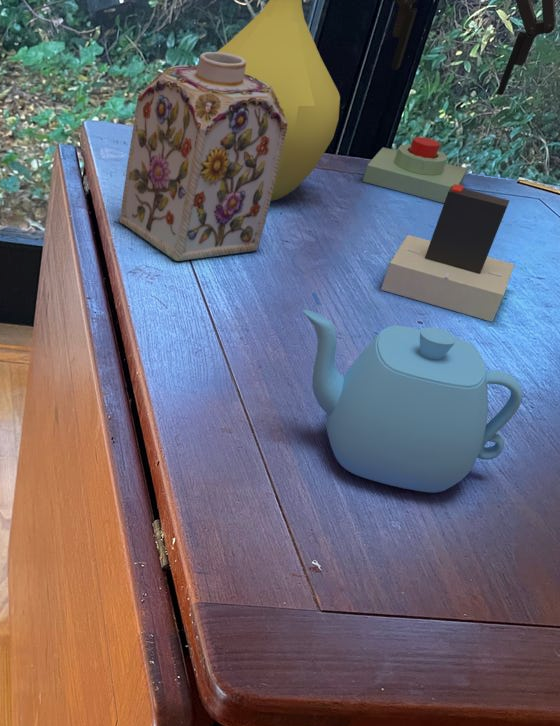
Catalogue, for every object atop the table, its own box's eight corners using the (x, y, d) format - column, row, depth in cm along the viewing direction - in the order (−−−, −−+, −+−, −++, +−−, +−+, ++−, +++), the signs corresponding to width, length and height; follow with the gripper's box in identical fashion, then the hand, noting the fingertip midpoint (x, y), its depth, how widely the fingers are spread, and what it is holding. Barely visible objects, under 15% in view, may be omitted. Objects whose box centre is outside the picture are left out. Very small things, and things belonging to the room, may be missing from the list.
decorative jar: (260, 253, 110) (305, 72, 98) (176, 264, 105) (212, 75, 93) (197, 212, 117) (231, 39, 105) (115, 221, 112) (141, 40, 100)
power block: (461, 185, 138) (472, 154, 135) (450, 205, 131) (461, 173, 128) (377, 163, 141) (386, 133, 138) (362, 181, 134) (371, 150, 131)
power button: (437, 155, 134) (442, 141, 133) (433, 161, 131) (437, 147, 130) (411, 148, 135) (415, 134, 134) (406, 155, 132) (410, 141, 131)
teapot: (311, 273, 80) (538, 322, 78) (277, 392, 87) (484, 440, 85) (297, 338, 70) (555, 396, 69) (261, 466, 78) (493, 521, 76)
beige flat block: (503, 290, 111) (515, 262, 109) (492, 322, 104) (504, 293, 102) (398, 260, 114) (408, 232, 112) (380, 290, 107) (390, 261, 105)
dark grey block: (482, 267, 107) (510, 197, 102) (480, 273, 105) (508, 203, 100) (428, 251, 108) (452, 182, 103) (424, 258, 107) (449, 188, 102)
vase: (320, 180, 132) (395, -96, 111) (310, 227, 118) (393, -78, 98) (186, 152, 133) (236, -125, 113) (160, 195, 120) (212, -110, 100)
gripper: (402, -148, 113) (346, 62, 127) (629, -106, 107) (543, 109, 121) (414, -149, 118) (358, 52, 132) (631, -110, 112) (548, 97, 126)
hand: (447, 80), depth 127 cm, fingers open, 13 cm apart
